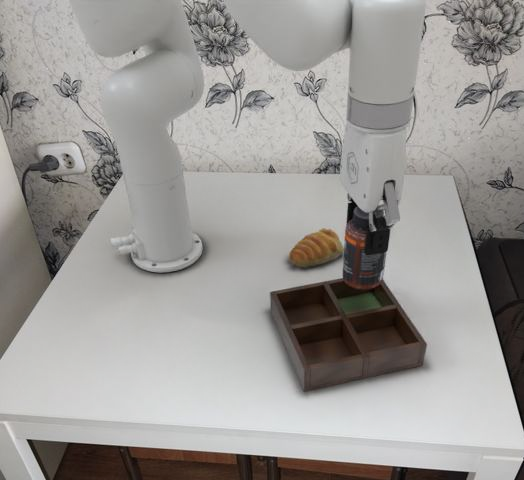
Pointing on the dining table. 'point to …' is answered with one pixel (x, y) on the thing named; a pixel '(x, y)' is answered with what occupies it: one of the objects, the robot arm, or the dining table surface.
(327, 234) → the pastry
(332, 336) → the grid
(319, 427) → the dining table surface
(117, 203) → the dining table surface
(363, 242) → the supplement bottle
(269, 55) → the robot arm
